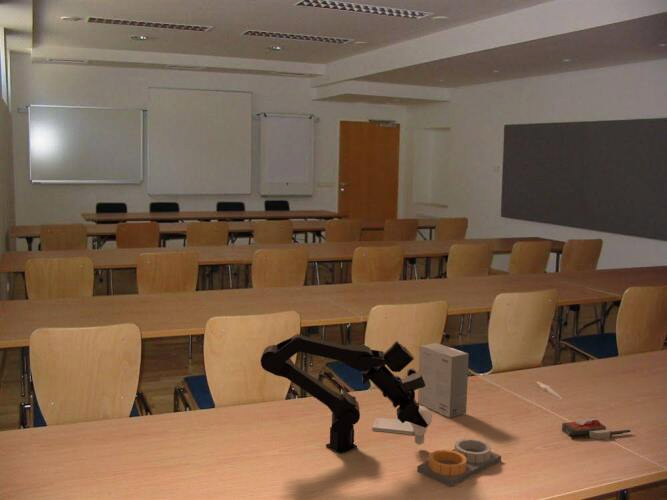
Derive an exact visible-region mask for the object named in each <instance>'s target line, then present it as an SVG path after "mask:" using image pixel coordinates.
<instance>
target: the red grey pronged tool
mask: <svg viewBox="0 0 667 500" xmlns="http://www.w3.org/2000/svg"><path fill="white" fill-rule="evenodd" d="M561 432H563V433H564V434H566V435H567V436H568V437H570V438H572V439H583V438H589V439H594V440H603V439H610V438H611V436H615V435H623V434H626V433H631V432H632V431H631V429H624V430H623V429H622V430H613V431H612V430H607V427H606V425H604V424H603V423H601V422H600V420H598V419H597V418H595V417H586V418H583V417H582V419H580V420H576V419H575V420H574V421H569V422H562V424H561Z"/></svg>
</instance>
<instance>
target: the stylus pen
mask: <svg viewBox="0 0 667 500" xmlns="http://www.w3.org/2000/svg"><path fill="white" fill-rule="evenodd" d="M536 383H537V384H538V385H537V387H539V388H540V389H541V390H542V391H544V392H547V393H549V394H550V395H553V396H554V397H556V398H558V399H560V400H563V399H564V398H562V396H560V394H558V393H557V392H556V391H555V390H554V389H552V388H551V386H550V385H548V384H545V383H543V382H540V381H537V382H536Z"/></svg>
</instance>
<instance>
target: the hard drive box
mask: <svg viewBox="0 0 667 500" xmlns="http://www.w3.org/2000/svg"><path fill="white" fill-rule="evenodd" d="M469 354H470V353H468V352H465V351H462V350H458V349H456V348H453V347H450V346H446V345H444V344H440V343H437V342H434V343H428V344H423V345H419V363H418V364H419V365H418V366H419V367H418V372H420V373H421V375H422V377H423V380H424V382H425V385H426V386H425V387H423V388H419V389H418V394H417V395H418V396H417V398H418V399H417V403H418V404H419V405H420V406H424V407H426V408H427V409H428V410H429V409H430V411H434V412H436V413H438V414H440V415H442V416H445V417H446V418H450V419H451V418H454V417H458V416H461V415H465V414H467V404H468V403H467V399H468V376H469V356H470V355H469Z"/></svg>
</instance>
